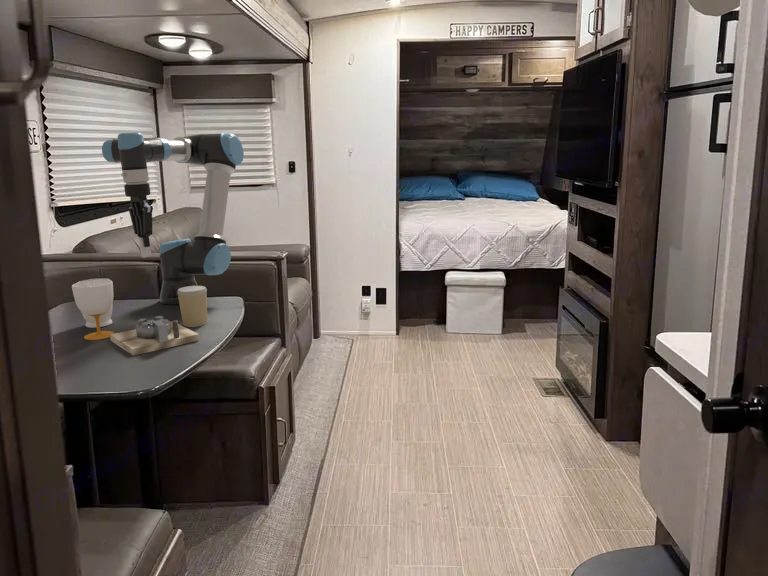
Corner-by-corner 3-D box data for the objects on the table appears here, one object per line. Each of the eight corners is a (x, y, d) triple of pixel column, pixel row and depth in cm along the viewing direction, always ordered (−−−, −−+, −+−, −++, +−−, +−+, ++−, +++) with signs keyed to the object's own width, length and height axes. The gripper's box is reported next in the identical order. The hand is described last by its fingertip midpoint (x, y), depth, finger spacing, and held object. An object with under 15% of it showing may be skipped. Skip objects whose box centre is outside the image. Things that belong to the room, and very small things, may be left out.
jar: (103, 329, 212) (97, 285, 209) (75, 328, 215) (68, 284, 211) (122, 320, 223) (116, 278, 219) (95, 320, 225) (89, 277, 221)
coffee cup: (200, 318, 222) (197, 284, 220) (215, 323, 216) (211, 287, 213) (175, 324, 216) (171, 289, 213) (189, 329, 209) (185, 293, 207)
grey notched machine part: (132, 332, 200) (131, 317, 198) (165, 326, 205) (164, 311, 204) (146, 345, 187) (144, 328, 185) (181, 338, 192) (179, 322, 191)
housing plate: (173, 327, 212) (171, 306, 211) (200, 340, 197) (197, 318, 195) (109, 340, 200) (106, 319, 198) (131, 356, 184) (128, 332, 183)
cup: (90, 331, 211) (82, 279, 208) (125, 330, 211) (118, 278, 207) (72, 342, 200) (64, 288, 196) (109, 341, 200) (102, 287, 196)
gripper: (115, 183, 206) (126, 256, 212) (134, 185, 197) (145, 261, 203) (138, 181, 211) (148, 252, 217) (157, 182, 202) (167, 256, 208)
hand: (146, 256), depth 210 cm, fingers closed
